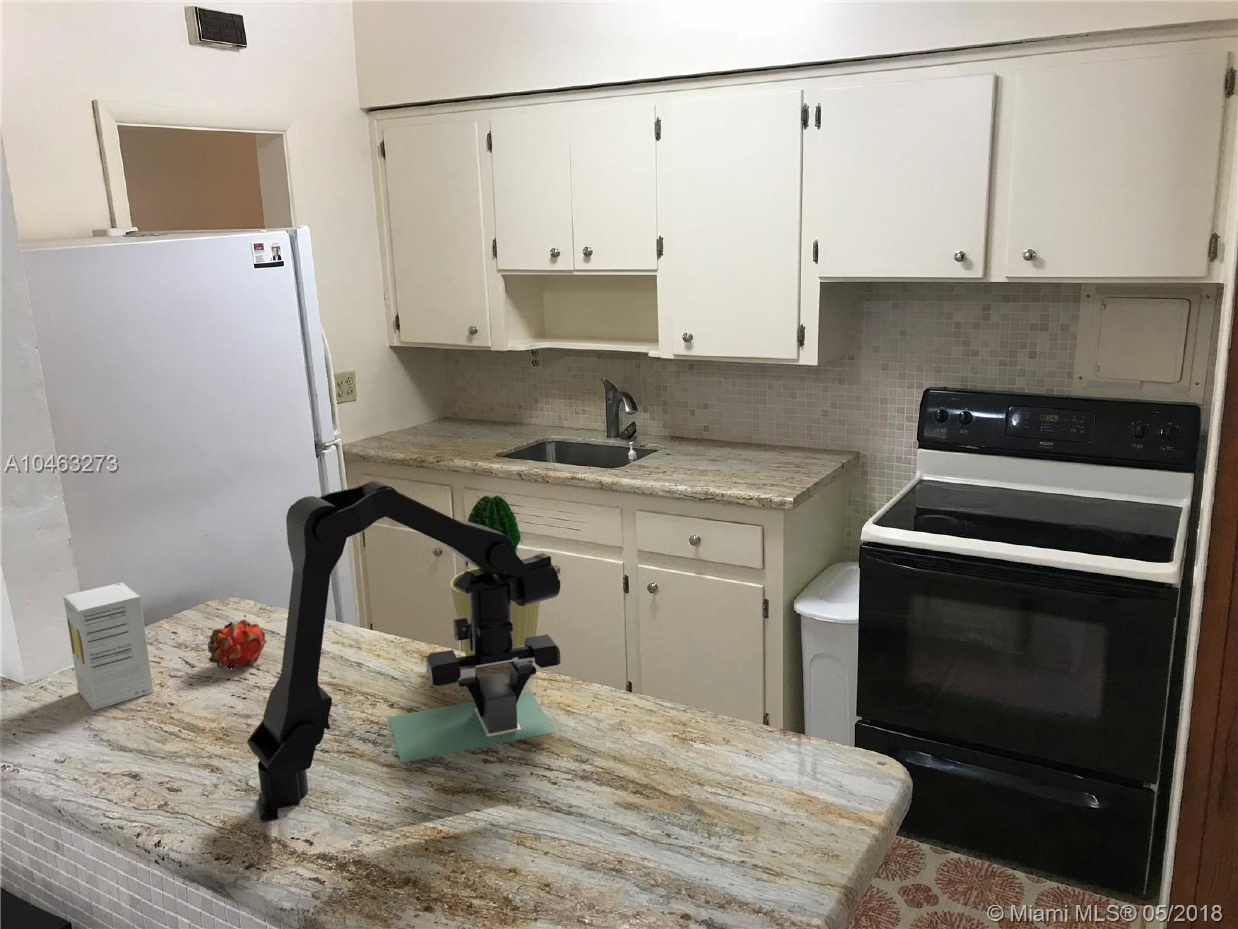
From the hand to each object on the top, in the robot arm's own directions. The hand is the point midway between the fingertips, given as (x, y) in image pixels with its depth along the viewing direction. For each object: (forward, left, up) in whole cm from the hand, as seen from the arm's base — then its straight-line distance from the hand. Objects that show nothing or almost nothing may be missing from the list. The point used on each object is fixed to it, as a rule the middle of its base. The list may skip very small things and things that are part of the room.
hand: (496, 713), depth 143 cm
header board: (0, +4, -2) cm, 5 cm away
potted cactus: (+23, -6, -3) cm, 24 cm away
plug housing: (+1, 0, -1) cm, 2 cm away
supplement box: (+36, +55, -3) cm, 66 cm away
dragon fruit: (+40, +36, -3) cm, 54 cm away
